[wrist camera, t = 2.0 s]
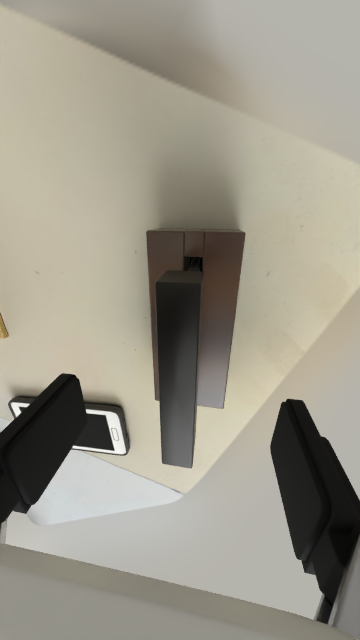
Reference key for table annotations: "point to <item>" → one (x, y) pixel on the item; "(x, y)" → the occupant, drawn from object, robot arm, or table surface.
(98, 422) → the cell phone
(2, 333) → the cake
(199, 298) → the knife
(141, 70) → the table surface
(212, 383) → the brown slotted box
